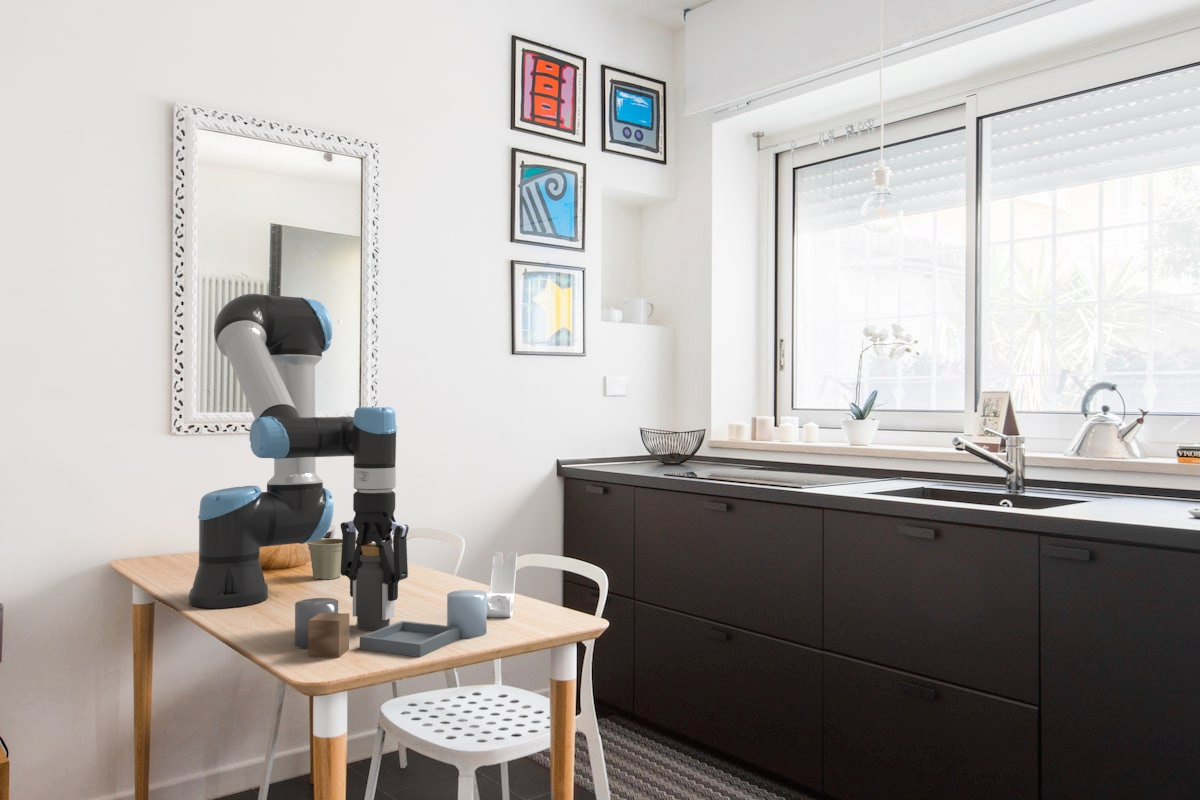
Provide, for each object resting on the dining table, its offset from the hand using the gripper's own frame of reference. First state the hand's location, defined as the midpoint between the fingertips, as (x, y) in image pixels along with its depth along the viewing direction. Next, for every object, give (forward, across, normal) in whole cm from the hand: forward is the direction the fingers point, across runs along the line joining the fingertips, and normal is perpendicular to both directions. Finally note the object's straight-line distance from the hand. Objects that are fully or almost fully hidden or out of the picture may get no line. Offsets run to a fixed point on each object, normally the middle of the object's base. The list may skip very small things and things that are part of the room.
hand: (373, 616), depth 158 cm
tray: (+2, +13, -7) cm, 15 cm away
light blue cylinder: (+2, +18, +3) cm, 18 cm away
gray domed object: (+2, -2, -13) cm, 13 cm away
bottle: (+2, 0, 0) cm, 2 cm away
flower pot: (+2, -39, +34) cm, 52 cm away
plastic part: (+2, +15, +19) cm, 24 cm away
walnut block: (+2, +4, -17) cm, 18 cm away
